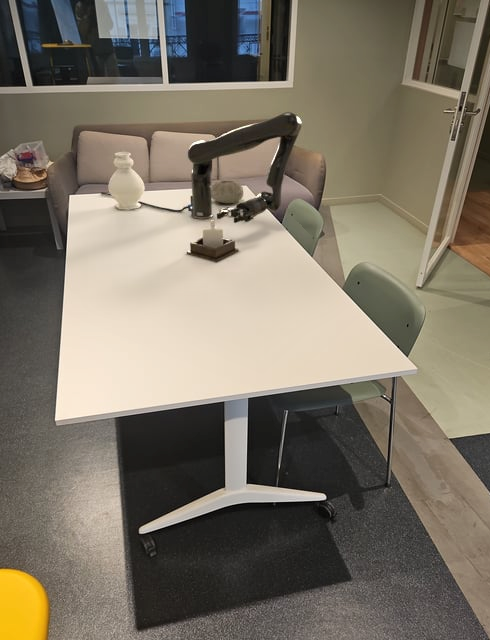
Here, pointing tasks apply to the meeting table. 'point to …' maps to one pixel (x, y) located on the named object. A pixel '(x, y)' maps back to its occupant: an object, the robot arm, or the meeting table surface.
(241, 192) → the decorative shell
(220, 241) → the perfume bottle
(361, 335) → the meeting table surface
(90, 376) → the meeting table surface
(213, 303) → the meeting table surface
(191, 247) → the bottle stand
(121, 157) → the decorative vase
